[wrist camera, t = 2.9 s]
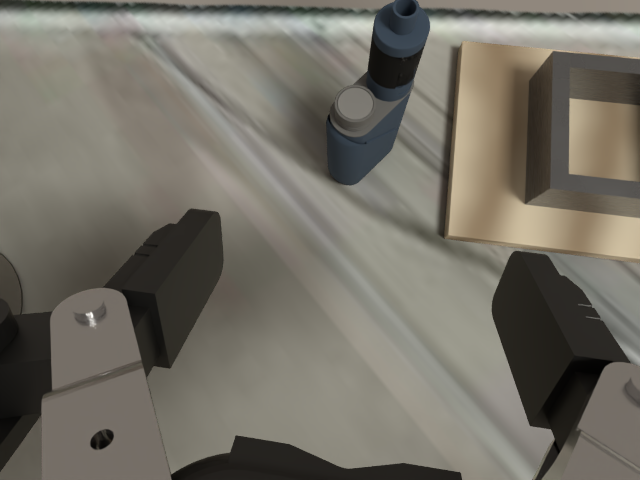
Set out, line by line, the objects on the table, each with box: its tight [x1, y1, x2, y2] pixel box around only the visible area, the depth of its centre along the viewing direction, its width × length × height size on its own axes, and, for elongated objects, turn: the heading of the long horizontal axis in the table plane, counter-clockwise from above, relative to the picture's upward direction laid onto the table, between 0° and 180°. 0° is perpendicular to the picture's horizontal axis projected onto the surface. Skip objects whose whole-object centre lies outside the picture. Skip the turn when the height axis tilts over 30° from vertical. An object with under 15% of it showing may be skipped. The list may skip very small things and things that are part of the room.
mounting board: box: [444, 41, 640, 263], centre depth 26 cm, size 18×14×1 cm
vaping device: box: [326, 0, 430, 185], centre depth 21 cm, size 3×5×12 cm, turn 135°
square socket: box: [525, 51, 640, 218], centre depth 24 cm, size 9×9×3 cm
